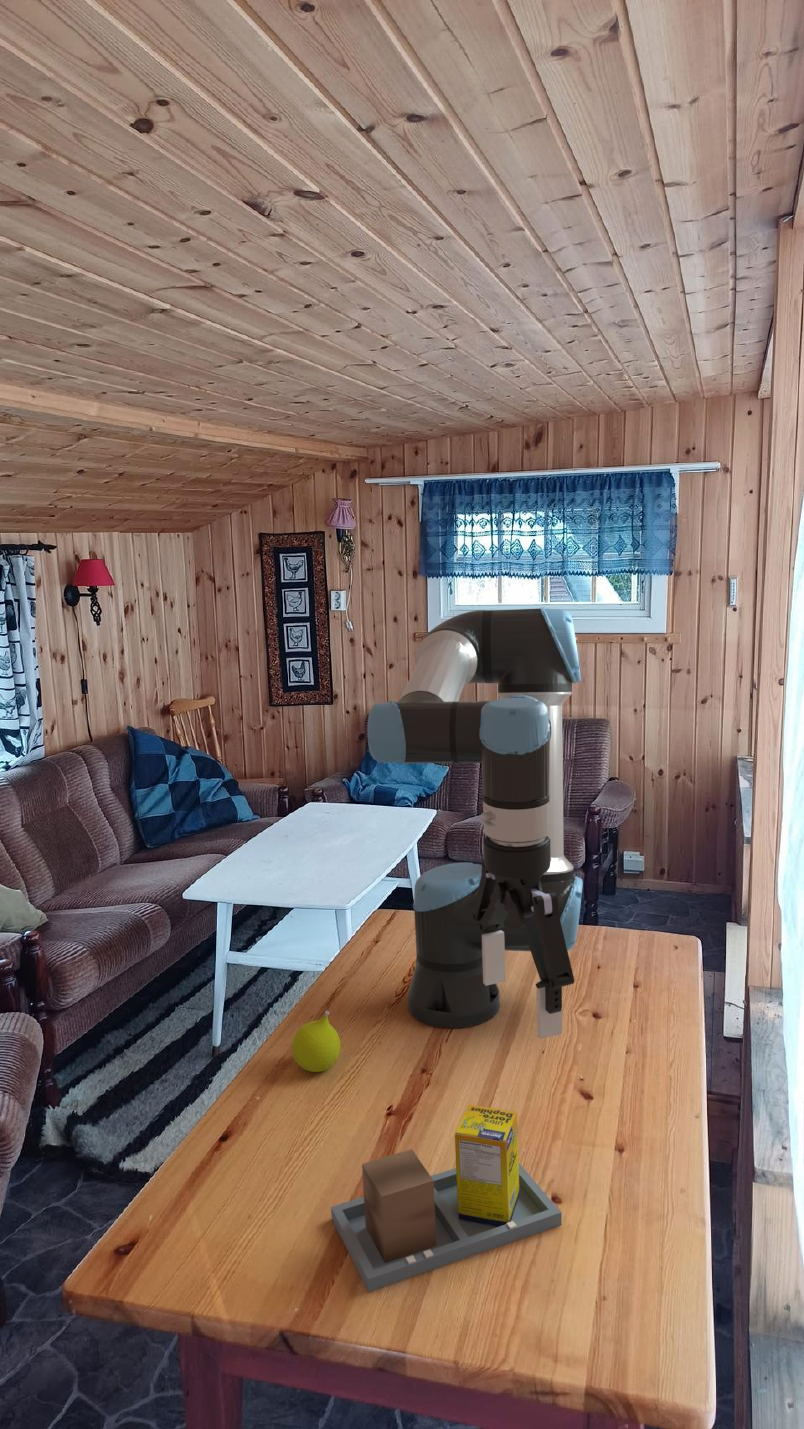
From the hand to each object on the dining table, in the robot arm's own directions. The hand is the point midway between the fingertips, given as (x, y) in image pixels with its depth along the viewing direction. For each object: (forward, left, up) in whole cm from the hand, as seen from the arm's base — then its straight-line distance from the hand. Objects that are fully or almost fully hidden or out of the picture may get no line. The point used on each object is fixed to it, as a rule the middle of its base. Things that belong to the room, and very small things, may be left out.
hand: (520, 1007), depth 115 cm
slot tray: (+5, -13, -22) cm, 25 cm away
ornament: (-33, -16, -22) cm, 43 cm away
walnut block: (+5, -18, -21) cm, 28 cm away
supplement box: (+5, -7, -21) cm, 23 cm away
